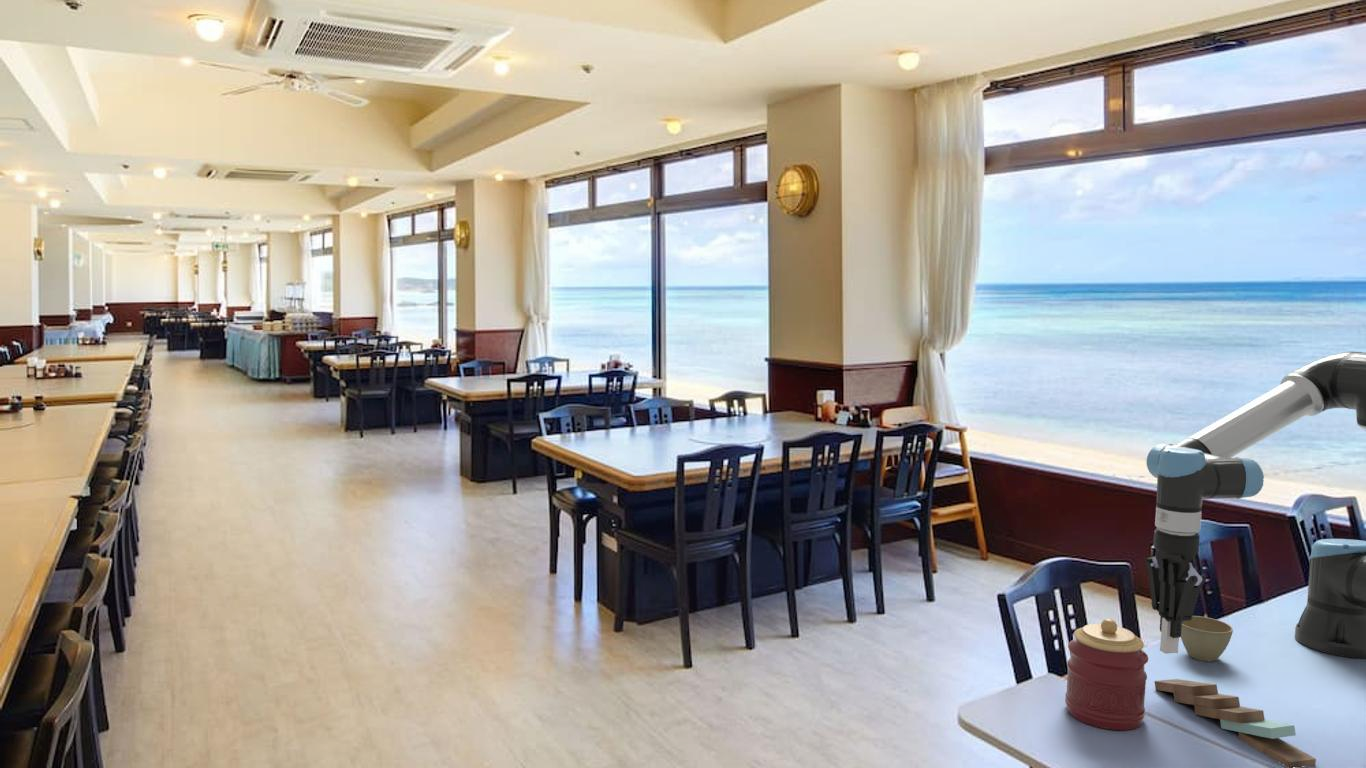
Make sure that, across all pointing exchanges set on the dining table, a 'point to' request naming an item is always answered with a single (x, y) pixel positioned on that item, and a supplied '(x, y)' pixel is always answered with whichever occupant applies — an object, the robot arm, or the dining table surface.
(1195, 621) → the flower pot
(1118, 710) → the canister
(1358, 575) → the robot arm
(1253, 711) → the domino
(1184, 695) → the domino
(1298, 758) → the domino
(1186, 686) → the domino
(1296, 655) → the dining table surface
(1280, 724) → the domino
